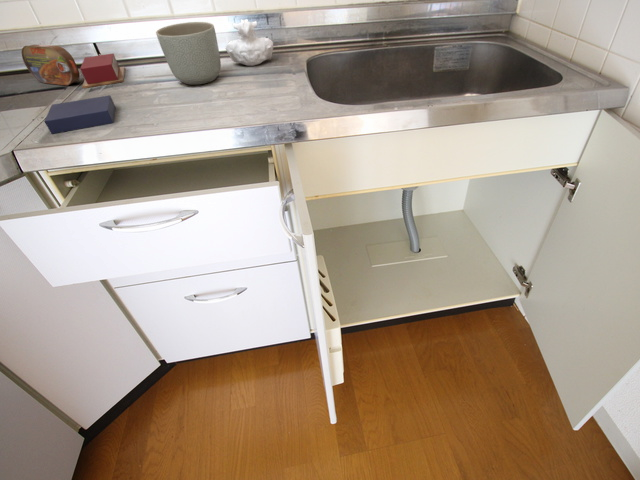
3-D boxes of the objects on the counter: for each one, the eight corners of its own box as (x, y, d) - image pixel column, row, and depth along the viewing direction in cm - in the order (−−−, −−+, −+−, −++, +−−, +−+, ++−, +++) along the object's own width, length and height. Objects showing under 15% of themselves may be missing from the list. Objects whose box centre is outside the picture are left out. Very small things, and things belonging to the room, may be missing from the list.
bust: (231, 75, 102) (221, 44, 91) (227, 49, 103) (217, 16, 92) (277, 70, 103) (273, 39, 92) (273, 44, 104) (268, 11, 93)
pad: (83, 88, 93) (82, 86, 93) (88, 74, 101) (87, 72, 101) (123, 82, 95) (122, 79, 95) (125, 68, 103) (124, 66, 103)
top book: (87, 84, 93) (79, 68, 91) (91, 72, 100) (84, 57, 98) (117, 79, 95) (111, 64, 93) (119, 68, 102) (113, 53, 100)
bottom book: (51, 134, 75) (44, 121, 73) (58, 116, 81) (51, 104, 79) (113, 123, 77) (107, 110, 75) (115, 107, 83) (110, 95, 82)
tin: (33, 82, 98) (12, 45, 92) (44, 78, 100) (24, 41, 94) (77, 87, 94) (58, 48, 88) (88, 83, 96) (69, 44, 90)
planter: (164, 89, 90) (145, 36, 82) (186, 71, 99) (171, 22, 91) (215, 89, 88) (200, 35, 81) (233, 71, 97) (221, 21, 90)
